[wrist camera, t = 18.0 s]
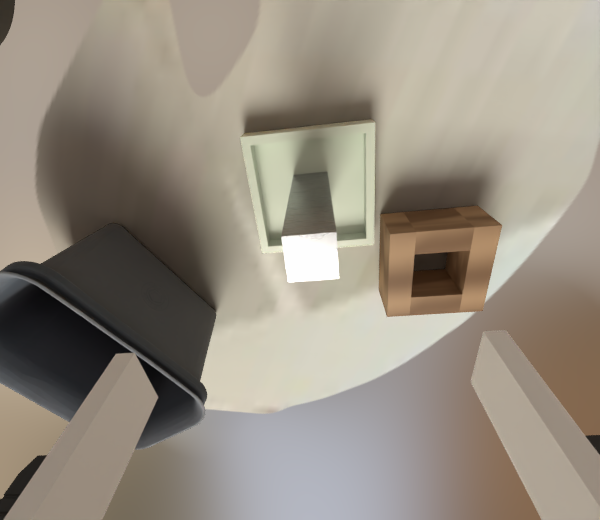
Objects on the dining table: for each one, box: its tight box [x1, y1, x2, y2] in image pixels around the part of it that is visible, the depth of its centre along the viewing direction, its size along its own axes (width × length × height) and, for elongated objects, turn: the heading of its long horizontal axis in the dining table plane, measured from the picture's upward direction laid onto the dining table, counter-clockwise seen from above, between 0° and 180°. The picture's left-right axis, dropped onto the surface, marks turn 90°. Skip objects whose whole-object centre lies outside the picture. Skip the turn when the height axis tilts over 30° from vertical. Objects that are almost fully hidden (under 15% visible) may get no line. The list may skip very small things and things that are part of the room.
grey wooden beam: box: [281, 172, 339, 282], centre depth 26 cm, size 3×3×14 cm
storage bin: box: [0, 223, 216, 449], centre depth 34 cm, size 21×16×14 cm
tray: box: [240, 119, 375, 254], centre depth 32 cm, size 12×12×2 cm
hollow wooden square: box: [379, 206, 502, 317], centre depth 34 cm, size 10×10×5 cm
